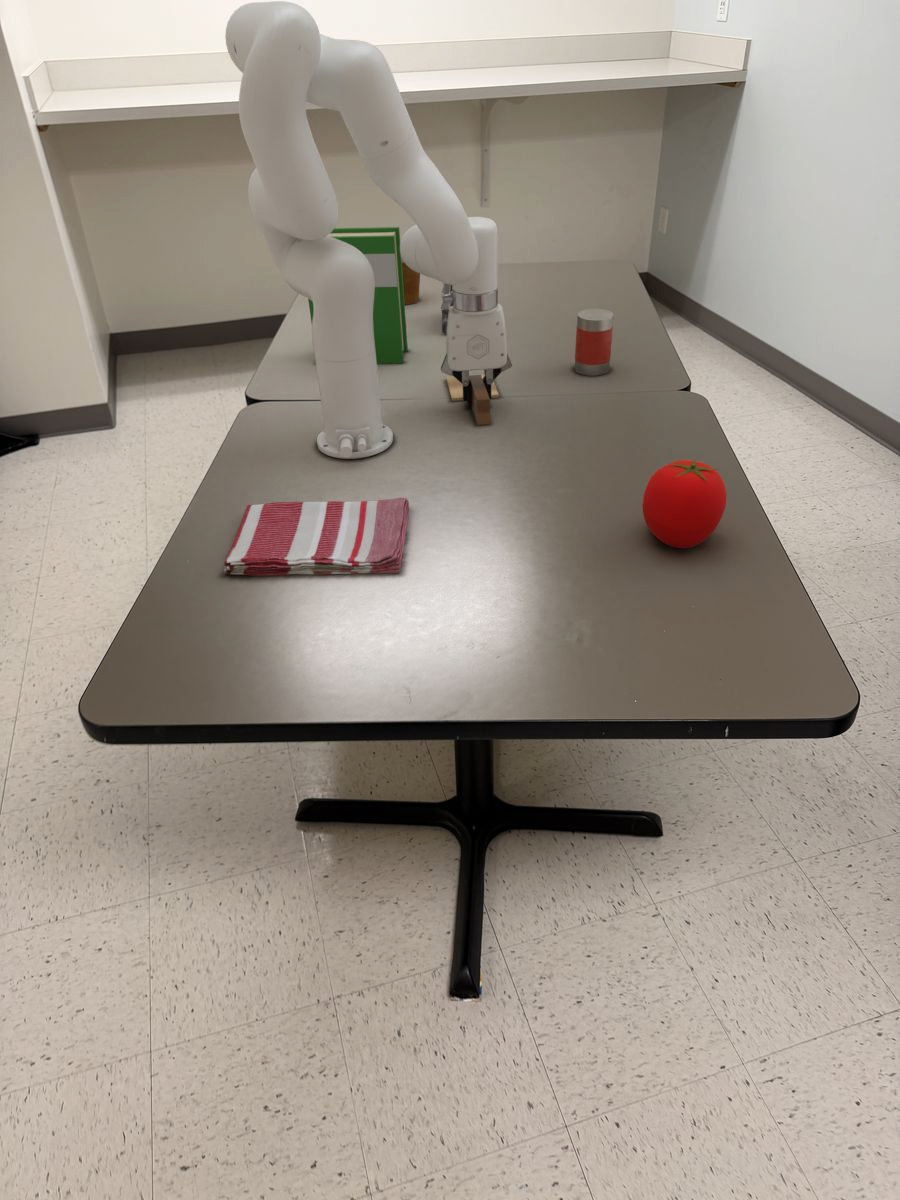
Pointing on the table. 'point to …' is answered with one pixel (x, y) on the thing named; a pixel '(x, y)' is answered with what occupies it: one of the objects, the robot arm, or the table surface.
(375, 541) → the dish towel
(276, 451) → the table surface
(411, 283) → the disposable coffee cup
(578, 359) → the tin can
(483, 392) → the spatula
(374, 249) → the hardback book
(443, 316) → the meal
